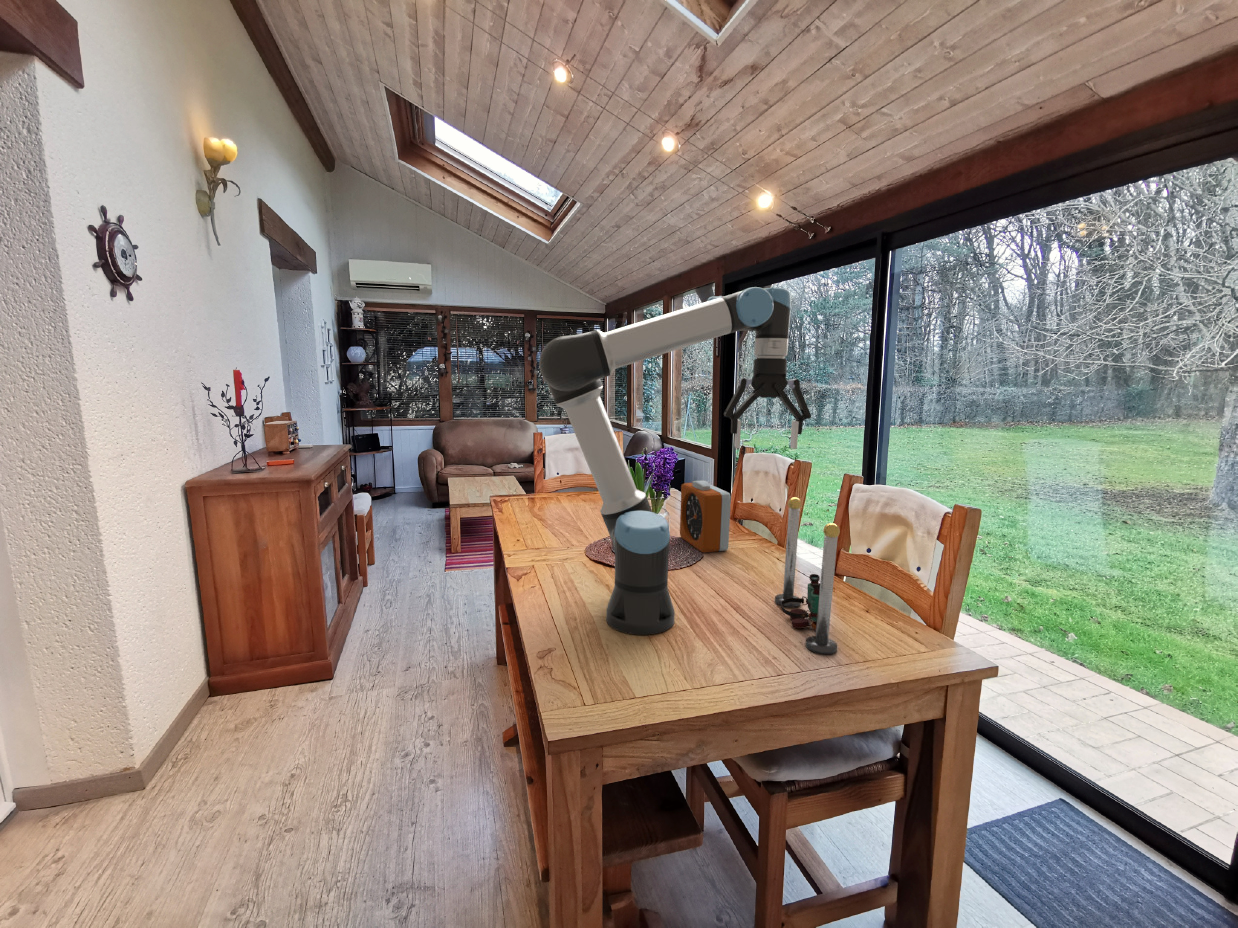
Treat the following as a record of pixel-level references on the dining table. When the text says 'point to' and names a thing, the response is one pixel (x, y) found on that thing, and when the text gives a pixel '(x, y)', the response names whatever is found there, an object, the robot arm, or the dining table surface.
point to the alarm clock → (705, 516)
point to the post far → (790, 555)
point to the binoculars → (811, 600)
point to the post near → (825, 595)
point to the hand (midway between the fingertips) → (765, 447)
